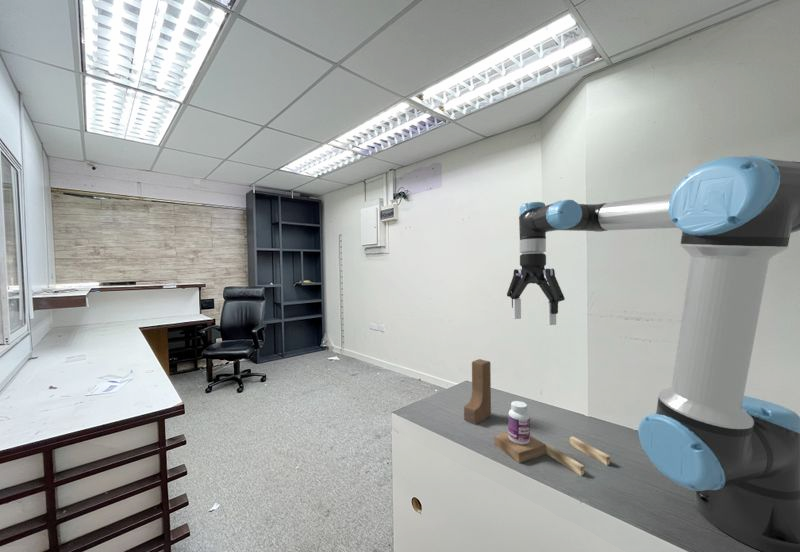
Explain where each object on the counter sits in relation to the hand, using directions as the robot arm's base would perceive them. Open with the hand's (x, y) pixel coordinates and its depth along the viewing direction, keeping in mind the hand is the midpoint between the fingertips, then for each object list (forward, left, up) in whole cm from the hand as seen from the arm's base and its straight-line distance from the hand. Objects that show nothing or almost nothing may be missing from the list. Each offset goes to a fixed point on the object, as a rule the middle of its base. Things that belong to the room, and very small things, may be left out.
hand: (533, 321), depth 96 cm
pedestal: (-9, +15, -32) cm, 36 cm away
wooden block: (+10, +14, -32) cm, 36 cm away
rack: (-18, +5, -32) cm, 37 cm away
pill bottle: (-9, +15, -29) cm, 34 cm away
